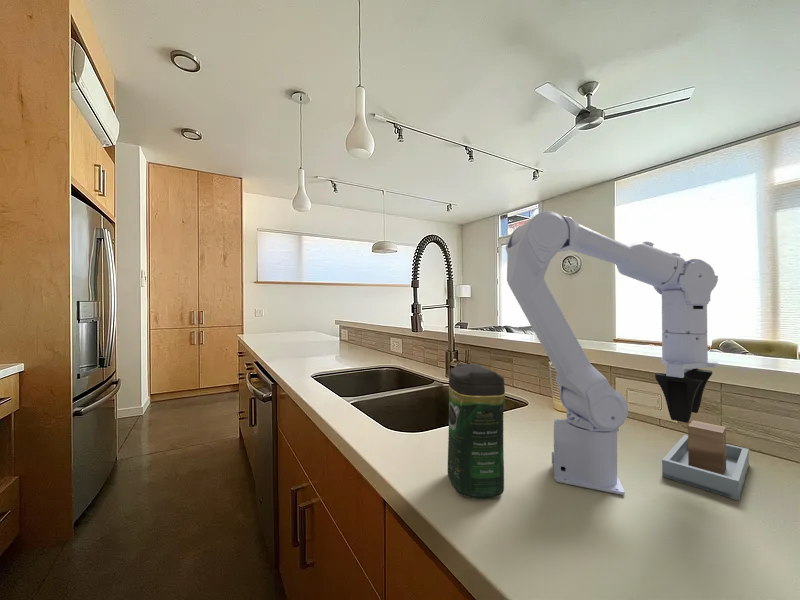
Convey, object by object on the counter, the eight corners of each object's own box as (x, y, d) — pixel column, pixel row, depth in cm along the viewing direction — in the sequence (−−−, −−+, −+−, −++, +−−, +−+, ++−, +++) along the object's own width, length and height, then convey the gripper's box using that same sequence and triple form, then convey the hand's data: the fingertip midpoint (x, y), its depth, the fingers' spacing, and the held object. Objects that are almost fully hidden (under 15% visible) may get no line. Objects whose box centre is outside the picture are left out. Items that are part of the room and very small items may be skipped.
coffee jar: (512, 501, 48) (513, 371, 48) (458, 503, 47) (459, 371, 48) (488, 469, 58) (489, 360, 58) (442, 470, 57) (444, 360, 57)
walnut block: (723, 475, 55) (722, 432, 55) (688, 466, 59) (688, 425, 59) (726, 467, 58) (725, 427, 58) (692, 458, 61) (692, 420, 62)
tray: (738, 500, 49) (738, 481, 49) (662, 476, 56) (662, 459, 56) (749, 464, 61) (748, 449, 61) (684, 448, 68) (684, 434, 68)
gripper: (709, 336, 48) (711, 433, 47) (723, 332, 57) (724, 413, 57) (649, 333, 53) (650, 420, 53) (670, 330, 62) (671, 403, 62)
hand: (684, 416), depth 55 cm, fingers open, 7 cm apart
